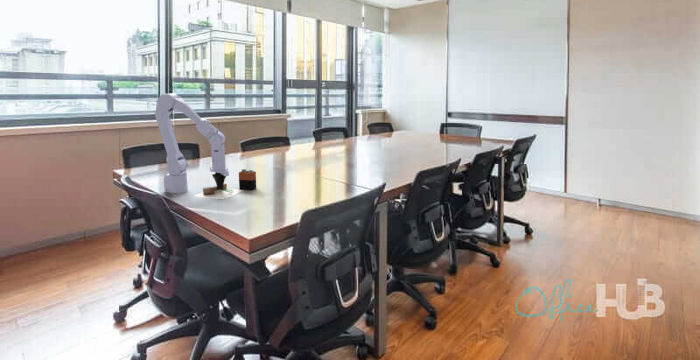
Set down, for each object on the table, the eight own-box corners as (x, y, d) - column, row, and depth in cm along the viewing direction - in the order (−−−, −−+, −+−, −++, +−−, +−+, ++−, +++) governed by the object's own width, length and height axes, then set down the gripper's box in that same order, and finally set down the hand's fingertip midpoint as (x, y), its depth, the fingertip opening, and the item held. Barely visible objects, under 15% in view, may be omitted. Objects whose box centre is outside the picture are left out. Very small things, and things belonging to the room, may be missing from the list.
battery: (243, 189, 201) (242, 168, 199) (256, 190, 200) (256, 169, 198) (239, 191, 197) (238, 170, 195) (252, 192, 196) (251, 171, 194)
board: (192, 198, 184) (192, 195, 184) (216, 189, 200) (216, 187, 200) (223, 201, 180) (222, 198, 180) (244, 192, 196) (244, 189, 195)
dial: (209, 195, 185) (209, 190, 185) (200, 194, 187) (200, 188, 187) (229, 189, 197) (229, 184, 196) (221, 188, 199) (221, 182, 198)
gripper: (234, 160, 187) (236, 190, 190) (219, 156, 197) (221, 185, 200) (219, 162, 182) (221, 193, 185) (204, 158, 193) (206, 187, 196)
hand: (220, 189), depth 192 cm, fingers closed, pressing on dial
